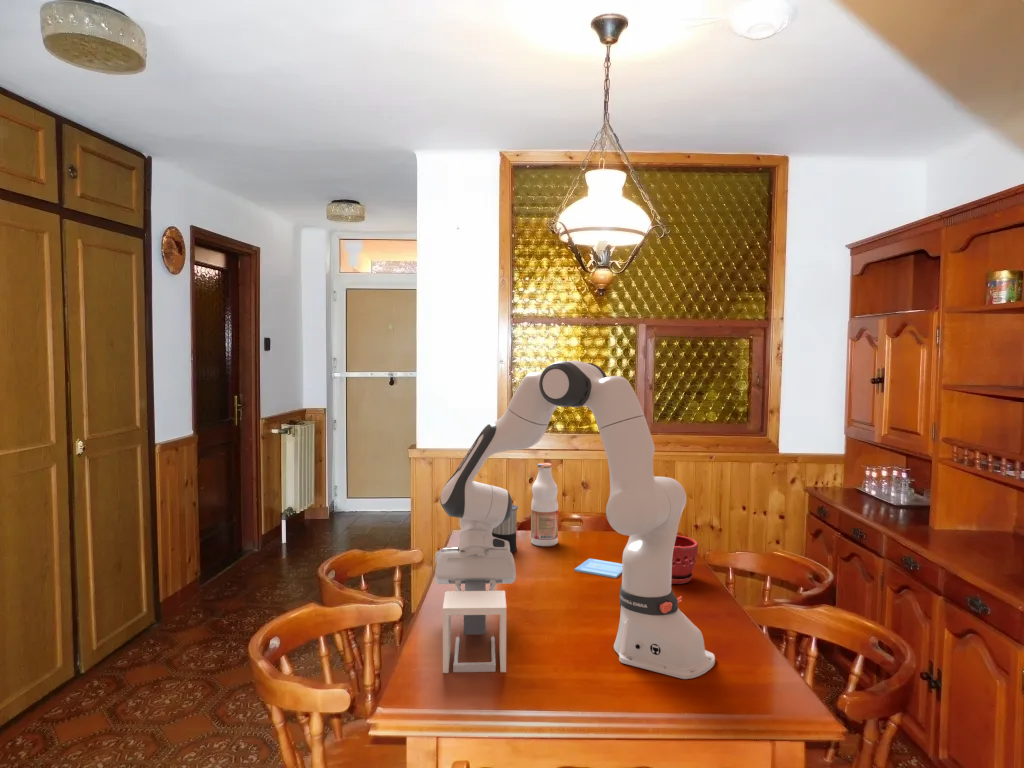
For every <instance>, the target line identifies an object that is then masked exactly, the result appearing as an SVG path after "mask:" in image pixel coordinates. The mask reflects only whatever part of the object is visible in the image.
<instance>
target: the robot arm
mask: <svg viewBox="0 0 1024 768" xmlns="http://www.w3.org/2000/svg"><path fill="white" fill-rule="evenodd" d="M558 407H560V408H570V407H571V408H582V407H586V408H588V409H589V410H590V411H591V412H592V414H593V417H594V419H595V421H596V422H595V423H596V426H597V429H598V432H599V435H600V440H601V442H602V445H603V449H604V452H605V455H606V459H607V464H608V470H609V471H608V473H609V497H608V501H607V503H606V508H605V514H606V519H607V521H608V523H609V525H610V526H611V528H612V529H613V530H614V531H615V532H617V533H618V534H619V535H623V536H629V538H628V540H627V543H626V545H625V547H624V549H623V551H622V559H621V560H622V561H621V562H622V563H621V564H622V574H621V585H620V588H619V605H620V615H619V616H620V617H619V622H618V623H619V624H618V628H617V633H616V637H615V641H614V644H613V649H614V651H615V652H616V654H617V655H618V660H619V662H620V663H622V664H625V665H629V666H632V667H636V668H640V669H643V670H648V671H651V672H655V673H658V674H663V675H666V676H670V677H674V678H678V679H682V680H688V679H694V678H697V677H700V676H702V675H704V674H705V673H707V672H708V671H710V670H711V669H712V668H713V667H714V666H715V663H716V657H715V653H713V652H711V651H708V650H707V649H705V648H706V647H705V640H704V636H703V633H702V631H701V630H700V629H699V628H698V627H697V626H696V624H694V623H693V622H692V621H691V620H690V619H689V618H688V617H687V616H686V615H685V614H684V612H682V611H681V609H680V608H679V603H680V602H682V601H683V600H682V599H683V596H682V595H680V596H678V597H676V596H675V592H674V591H673V588H672V584H671V580H672V557H673V550H674V545H675V540H676V536H677V535H678V531H679V524H680V520H681V517H682V514H683V511H684V509H685V508H686V505H687V494H686V491H685V488H684V487H683V485H682V484H681V482H679V480H676V479H675V478H673V477H667V476H656V475H654V456H655V452H656V447H655V443H654V440H653V436H652V434H651V430H650V427H649V425H648V422H647V419H646V416H645V413H644V411H643V410H644V409H643V407H642V405H641V402H640V400H639V397H638V395H637V394H636V392H635V390H634V388H633V387H632V385H631V383H630V382H629V380H628V379H627V378H625V377H624V376H620V375H610V376H609V375H607V374H606V372H605V371H604V370H603V369H602V367H600V366H598V365H596V364H594V363H591V362H584V361H580V360H559V361H555V362H553V363H551V364H548V366H547V367H545V368H544V369H543V371H542V372H541V371H531V372H529V373H527V374H526V375H525V376H524V377H523V378H522V380H521V381H520V383H519V384H518V386H517V387H516V389H515V391H514V393H513V395H512V397H511V399H510V401H509V403H508V406H507V408H506V410H505V411H504V413H502V415H501V416H500V417H499V419H497V420H496V421H494V422H492V423H489V424H486V426H484V428H483V429H482V430H481V431H480V433H479V435H478V436H477V437H476V439H475V440H474V442H473V443H472V445H471V447H470V448H469V450H468V451H467V453H466V455H464V458H463V459H462V460H461V463H460V464H459V466H458V468H457V469H456V471H455V472H454V473H453V474H452V476H451V477H450V478H448V481H447V482H446V483H445V485H444V487H443V488H442V491H441V494H440V499H439V502H440V505H441V508H442V509H443V511H444V512H445V514H447V516H448V517H451V518H457V519H458V518H459V523H458V524H459V526H460V532H459V534H458V547H449V548H447V547H442V548H440V549H438V550H437V551H436V552H435V554H434V562H435V565H436V566H435V571H434V573H435V574H434V580H435V582H436V583H437V584H438V585H454V587H455V588H454V589H455V591H463V590H462V585H465V581H486V585H487V584H489V589H488V590H487V589H486V591H495V589H496V585H497V584H514V582H515V581H516V578H517V577H516V576H517V573H516V572H517V571H516V562H515V558H514V555H513V552H510V545H509V542H508V541H506V540H503V539H499V538H496V537H493V536H492V530H493V528H497V527H499V526H500V525H502V524H503V523H504V522H506V521H507V520H508V519H509V518H510V516H511V513H512V505H513V500H512V496H511V494H510V492H509V490H508V489H505V488H502V487H500V486H496V485H493V484H486V483H483V482H478V481H474V480H475V478H476V476H477V475H478V474H479V472H480V470H481V469H482V467H483V465H484V464H485V463H486V461H487V460H488V459H489V458H490V457H491V456H493V455H495V454H498V453H502V452H507V451H509V452H510V451H520V450H525V449H529V448H532V447H533V446H535V445H537V444H538V443H539V442H540V441H541V440H542V439H543V436H544V435H545V433H546V431H547V429H548V426H549V423H550V421H551V419H552V417H553V415H554V412H555V411H556V409H557V408H558Z"/></svg>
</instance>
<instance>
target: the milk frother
mask: <svg viewBox="0 0 1024 768" xmlns="http://www.w3.org/2000/svg"><path fill="white" fill-rule="evenodd" d="M518 509H519V506H517V505H515V504H512V513H511V516H510V518H509V519H508V520H507V521H506V522H504V523H503V524H502V525H500V526H499V527H497V528H493V530H492V536H493V537H496V538H499V539H503V540H506V541H508V542H509V545H510V552H511V553H513V552H516V551H517V550H518V548H517V515H518V514H517V512H518V511H517V510H518Z"/></svg>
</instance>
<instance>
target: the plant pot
mask: <svg viewBox="0 0 1024 768" xmlns="http://www.w3.org/2000/svg"><path fill="white" fill-rule="evenodd" d="M698 548H699V543H698V542H697V541H696V540H695V539H693V538H691V537H687V536H684V535H683V536H682V535H679V534H677V536H676V540H675V545H674V550H673V557H672V580H671V585H673V584H674V585H679V584H686V583H689V582H690V581H692V580H693V577H694V574H693V573H692V572H693V570H694V568H695V566H696V563H697V558H698Z"/></svg>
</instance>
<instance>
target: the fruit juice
mask: <svg viewBox="0 0 1024 768" xmlns="http://www.w3.org/2000/svg"><path fill="white" fill-rule="evenodd" d="M537 469H538V473H537V476H536V479H535V481H534V482H533V483H532V486H531V493H532V499H531V503H530V505H531V506H530V511H531V513H530V517H531V518H530V523H531V524H530V541H531V543H532V545H534V546H537V547H552V546H556V545H557V544H558V539H559V502H558V499H557V495H558V493H559V489H558V487H559V486H558V485H557V483H556V481H555V480H554V476H553V473H552V469H553V464H552V463H551V462H540V463H538V464H537Z"/></svg>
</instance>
